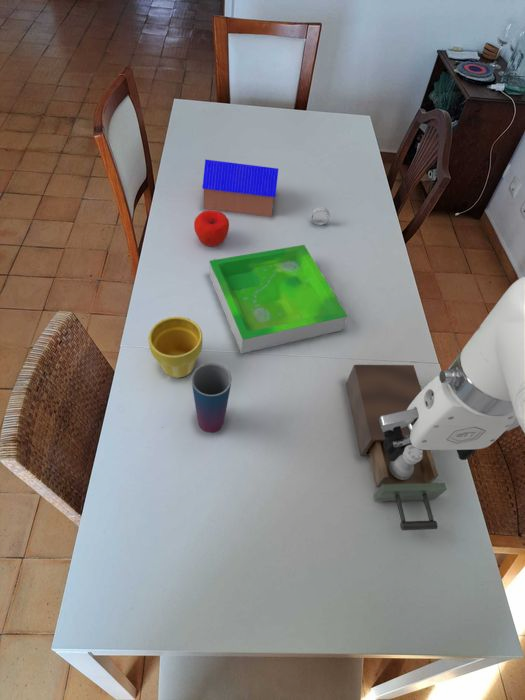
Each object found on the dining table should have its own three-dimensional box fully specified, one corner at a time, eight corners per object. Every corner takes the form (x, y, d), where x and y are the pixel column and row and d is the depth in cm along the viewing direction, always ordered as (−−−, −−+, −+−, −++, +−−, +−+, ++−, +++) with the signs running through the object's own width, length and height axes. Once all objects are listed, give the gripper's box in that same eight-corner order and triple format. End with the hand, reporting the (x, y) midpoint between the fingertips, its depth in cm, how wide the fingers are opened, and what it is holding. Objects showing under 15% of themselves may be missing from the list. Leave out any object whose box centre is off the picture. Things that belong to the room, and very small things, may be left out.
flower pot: (154, 345, 98) (149, 315, 91) (202, 345, 100) (202, 315, 92) (151, 386, 92) (146, 357, 85) (202, 384, 94) (202, 357, 86)
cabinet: (422, 455, 89) (437, 438, 84) (360, 456, 88) (371, 439, 82) (401, 383, 99) (413, 364, 93) (345, 383, 98) (354, 364, 92)
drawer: (444, 533, 79) (457, 524, 75) (381, 535, 78) (391, 526, 74) (412, 423, 92) (422, 410, 88) (358, 424, 91) (365, 411, 87)
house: (207, 185, 136) (208, 147, 127) (274, 193, 137) (279, 156, 128) (202, 209, 129) (202, 171, 119) (272, 217, 130) (277, 181, 120)
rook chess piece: (387, 477, 83) (402, 459, 77) (388, 455, 86) (403, 436, 80) (411, 483, 83) (428, 466, 77) (411, 461, 86) (428, 442, 80)
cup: (189, 433, 87) (186, 391, 75) (198, 403, 91) (197, 359, 79) (224, 440, 87) (227, 399, 75) (231, 409, 91) (235, 366, 79)
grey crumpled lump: (327, 227, 129) (331, 212, 125) (310, 225, 129) (313, 211, 125) (326, 221, 131) (330, 206, 127) (309, 219, 131) (312, 204, 127)
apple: (203, 257, 117) (202, 232, 111) (189, 236, 121) (188, 211, 115) (234, 248, 120) (235, 224, 114) (219, 228, 124) (220, 204, 118)
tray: (342, 330, 107) (347, 316, 103) (241, 353, 100) (242, 339, 96) (300, 259, 120) (304, 244, 116) (209, 275, 113) (209, 260, 109)
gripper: (417, 412, 43) (367, 479, 57) (582, 411, 45) (495, 476, 59) (398, 349, 48) (356, 425, 62) (549, 351, 50) (475, 424, 64)
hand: (424, 450), depth 60 cm, fingers open, 9 cm apart
